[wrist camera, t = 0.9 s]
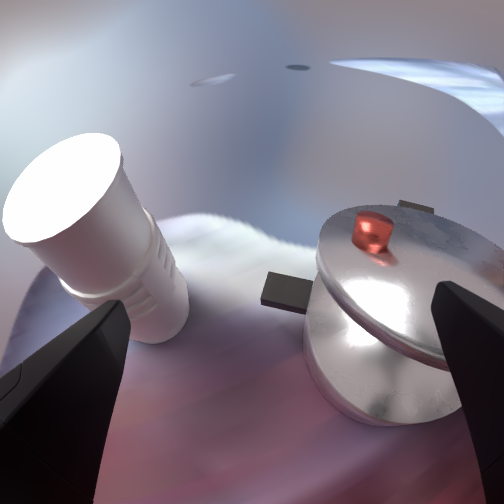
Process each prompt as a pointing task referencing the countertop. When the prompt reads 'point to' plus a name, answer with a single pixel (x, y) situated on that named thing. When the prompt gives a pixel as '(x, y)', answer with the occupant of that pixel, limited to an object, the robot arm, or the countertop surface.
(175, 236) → the countertop surface
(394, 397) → the cooker pot
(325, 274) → the cooker lid
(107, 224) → the white cylinder
